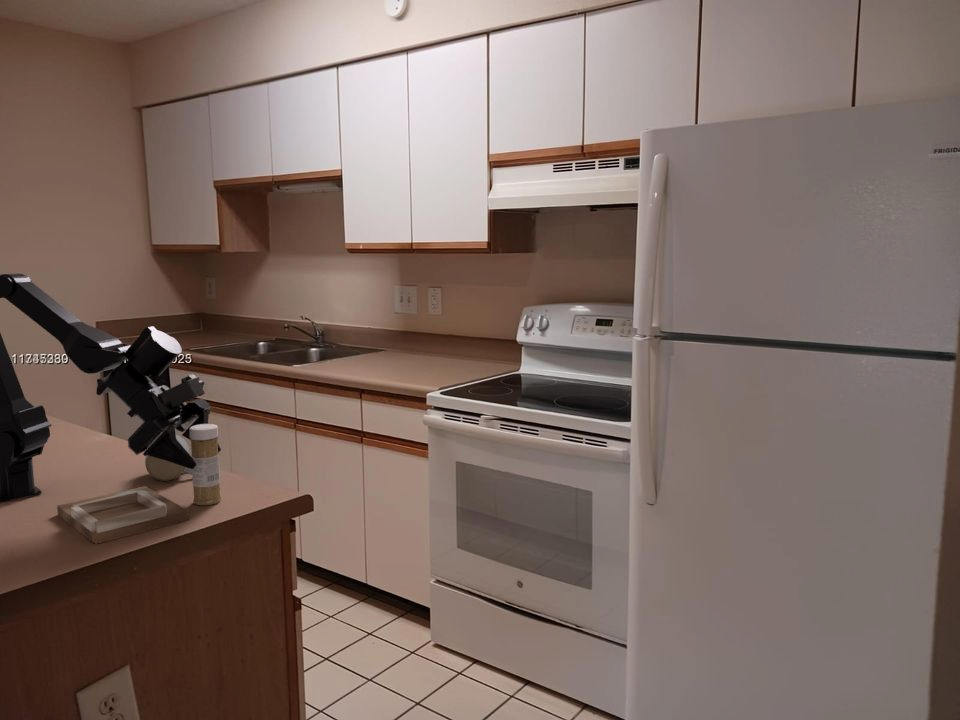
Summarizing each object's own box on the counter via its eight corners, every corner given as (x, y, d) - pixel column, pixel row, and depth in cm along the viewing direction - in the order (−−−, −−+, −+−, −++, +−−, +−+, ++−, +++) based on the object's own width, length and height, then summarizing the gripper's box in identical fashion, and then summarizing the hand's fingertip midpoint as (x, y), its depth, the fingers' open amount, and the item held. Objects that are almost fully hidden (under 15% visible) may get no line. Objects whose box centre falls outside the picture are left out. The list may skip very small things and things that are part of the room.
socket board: (57, 514, 117) (56, 496, 116) (145, 494, 127) (144, 478, 126) (95, 544, 105) (93, 524, 105) (188, 519, 115) (187, 501, 115)
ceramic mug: (144, 484, 132) (143, 444, 131) (148, 472, 140) (146, 434, 139) (206, 480, 136) (205, 440, 135) (206, 468, 144) (205, 430, 142)
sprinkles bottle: (215, 495, 127) (212, 421, 125) (225, 502, 123) (221, 426, 121) (189, 501, 124) (185, 425, 122) (197, 508, 120) (194, 430, 118)
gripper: (141, 371, 111) (213, 441, 112) (197, 354, 130) (259, 415, 130) (96, 419, 113) (168, 488, 114) (158, 396, 131) (219, 456, 132)
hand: (207, 459), depth 122 cm, fingers open, 9 cm apart
